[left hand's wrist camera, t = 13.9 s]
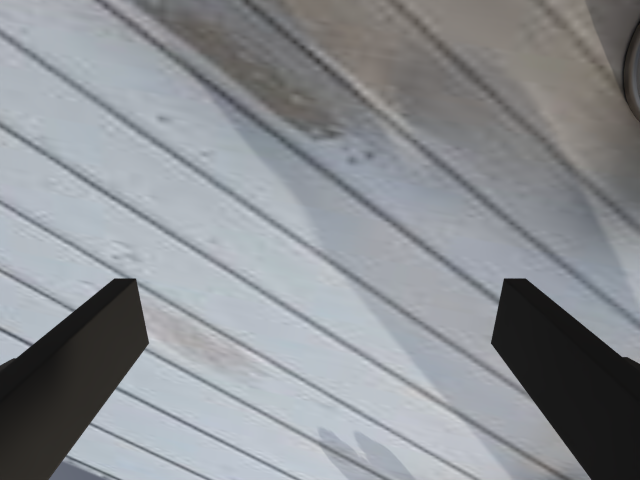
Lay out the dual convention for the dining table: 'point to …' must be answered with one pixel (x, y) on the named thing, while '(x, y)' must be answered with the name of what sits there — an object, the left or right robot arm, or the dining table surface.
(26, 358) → the left robot arm
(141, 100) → the dining table surface
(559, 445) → the dining table surface
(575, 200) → the dining table surface
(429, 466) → the dining table surface
